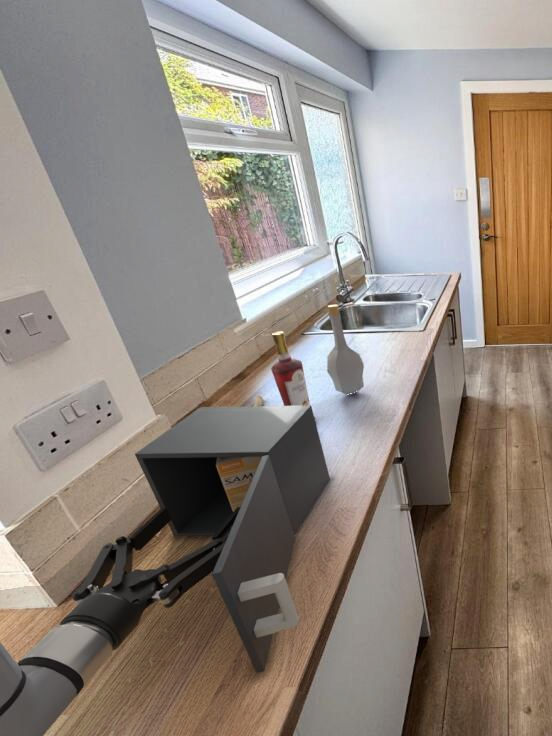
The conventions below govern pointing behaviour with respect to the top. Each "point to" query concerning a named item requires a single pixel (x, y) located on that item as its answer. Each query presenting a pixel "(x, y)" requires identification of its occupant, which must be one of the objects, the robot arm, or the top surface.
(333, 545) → the top surface
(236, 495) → the supplement box
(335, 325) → the bottle
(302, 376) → the liquor
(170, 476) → the cabinet
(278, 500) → the cabinet door
